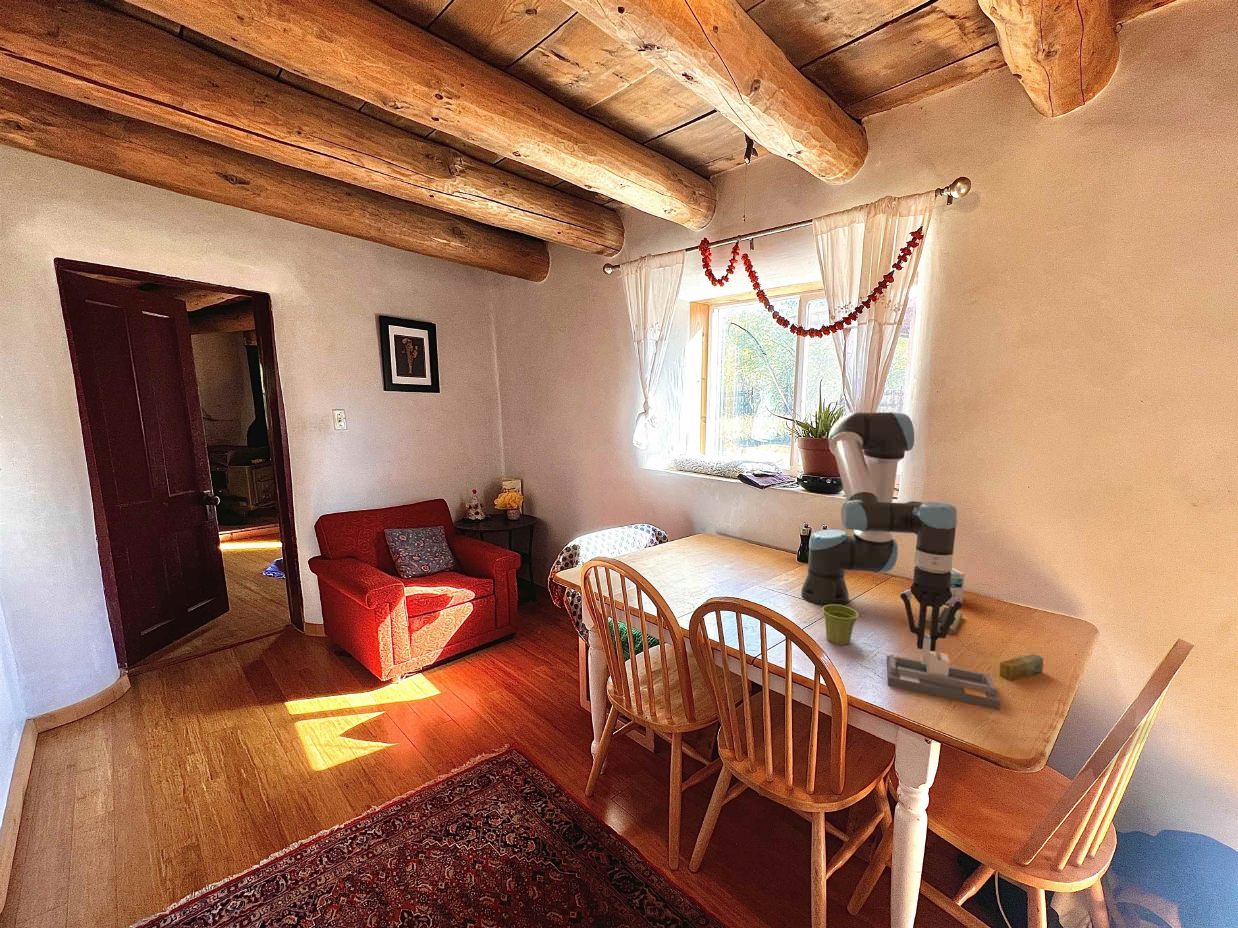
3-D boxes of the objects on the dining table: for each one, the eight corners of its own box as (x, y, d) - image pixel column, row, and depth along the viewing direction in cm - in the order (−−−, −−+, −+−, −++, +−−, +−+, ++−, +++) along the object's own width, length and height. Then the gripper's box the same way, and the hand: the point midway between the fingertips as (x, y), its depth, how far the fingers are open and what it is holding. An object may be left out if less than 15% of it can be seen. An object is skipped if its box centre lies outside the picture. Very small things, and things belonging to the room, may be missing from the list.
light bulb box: (962, 604, 172) (965, 573, 171) (942, 604, 172) (945, 573, 171) (943, 592, 183) (946, 563, 182) (924, 592, 183) (927, 563, 182)
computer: (954, 636, 150) (955, 625, 150) (922, 628, 155) (923, 617, 155) (962, 619, 162) (963, 609, 161) (932, 612, 167) (933, 602, 167)
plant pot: (854, 635, 149) (856, 607, 148) (858, 650, 140) (860, 620, 139) (820, 630, 152) (821, 602, 151) (821, 644, 143) (823, 615, 142)
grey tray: (887, 685, 123) (888, 671, 123) (886, 662, 134) (887, 649, 134) (999, 709, 114) (1001, 695, 113) (988, 683, 125) (989, 669, 124)
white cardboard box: (928, 676, 123) (929, 657, 122) (926, 668, 127) (928, 649, 126) (947, 681, 121) (949, 660, 120) (945, 672, 125) (947, 652, 124)
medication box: (1031, 668, 132) (1032, 653, 132) (1043, 673, 129) (1044, 658, 129) (998, 676, 128) (999, 661, 128) (1009, 681, 126) (1011, 666, 125)
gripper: (902, 568, 121) (894, 662, 124) (968, 577, 115) (958, 675, 118) (900, 559, 128) (893, 649, 131) (963, 567, 122) (954, 661, 125)
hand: (924, 661), depth 125 cm, fingers closed
